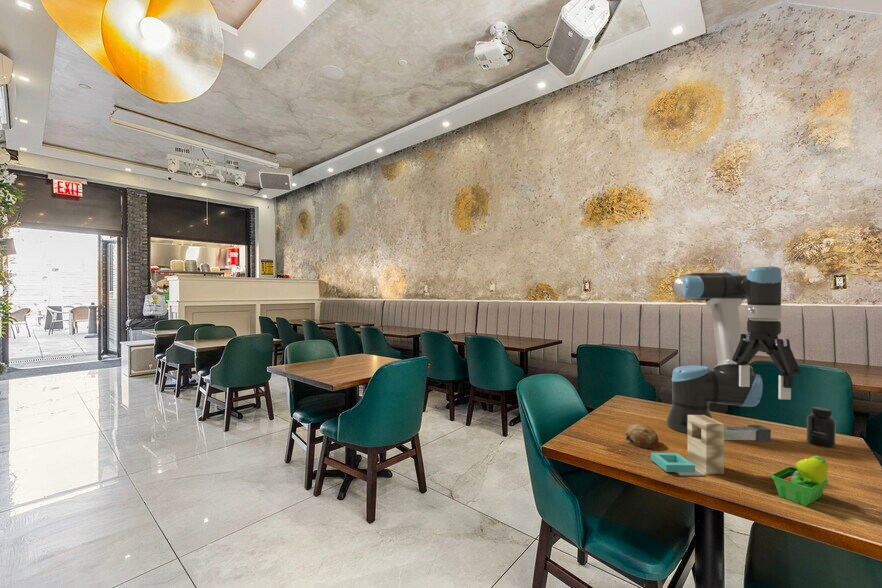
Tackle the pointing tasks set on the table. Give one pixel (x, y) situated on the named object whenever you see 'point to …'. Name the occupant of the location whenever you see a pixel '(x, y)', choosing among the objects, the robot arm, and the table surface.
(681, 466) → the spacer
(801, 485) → the fruit basket
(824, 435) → the supplement bottle
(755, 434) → the shaft
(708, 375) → the robot arm
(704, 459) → the light wood tall block
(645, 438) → the brown rounded lump
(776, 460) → the table surface
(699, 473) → the mat
